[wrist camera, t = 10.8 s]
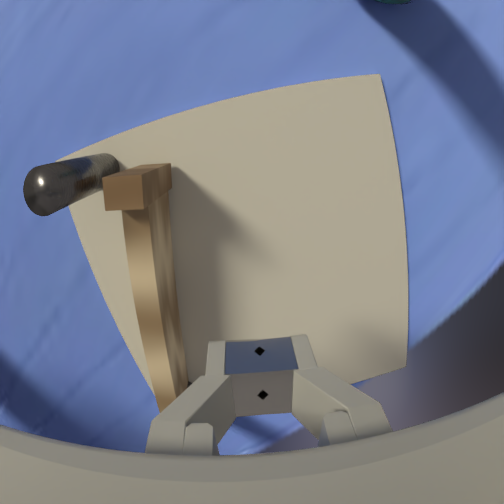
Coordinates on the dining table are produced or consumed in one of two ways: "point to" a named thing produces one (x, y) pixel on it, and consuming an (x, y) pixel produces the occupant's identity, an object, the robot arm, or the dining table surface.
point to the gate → (151, 271)
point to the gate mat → (271, 225)
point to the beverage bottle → (394, 1)
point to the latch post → (66, 182)
